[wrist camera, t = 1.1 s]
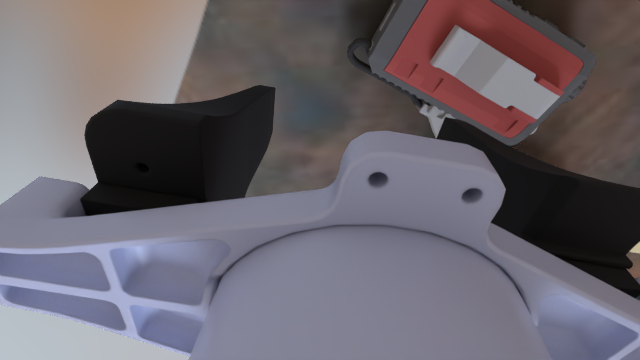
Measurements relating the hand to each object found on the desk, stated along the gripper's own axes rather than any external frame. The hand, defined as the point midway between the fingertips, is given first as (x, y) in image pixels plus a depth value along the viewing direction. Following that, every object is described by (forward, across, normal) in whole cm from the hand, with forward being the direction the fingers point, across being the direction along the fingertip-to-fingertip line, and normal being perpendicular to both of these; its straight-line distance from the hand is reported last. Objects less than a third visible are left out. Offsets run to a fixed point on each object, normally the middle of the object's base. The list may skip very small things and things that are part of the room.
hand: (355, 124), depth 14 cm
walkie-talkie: (+10, -10, 0) cm, 14 cm away
